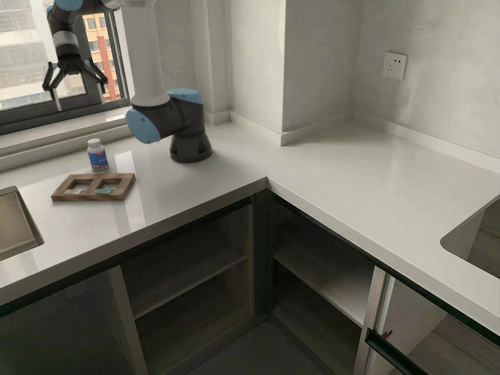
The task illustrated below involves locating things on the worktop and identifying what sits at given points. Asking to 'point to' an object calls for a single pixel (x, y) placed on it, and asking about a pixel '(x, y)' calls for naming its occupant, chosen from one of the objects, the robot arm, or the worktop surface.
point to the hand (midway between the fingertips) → (81, 105)
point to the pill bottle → (97, 154)
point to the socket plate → (94, 187)
